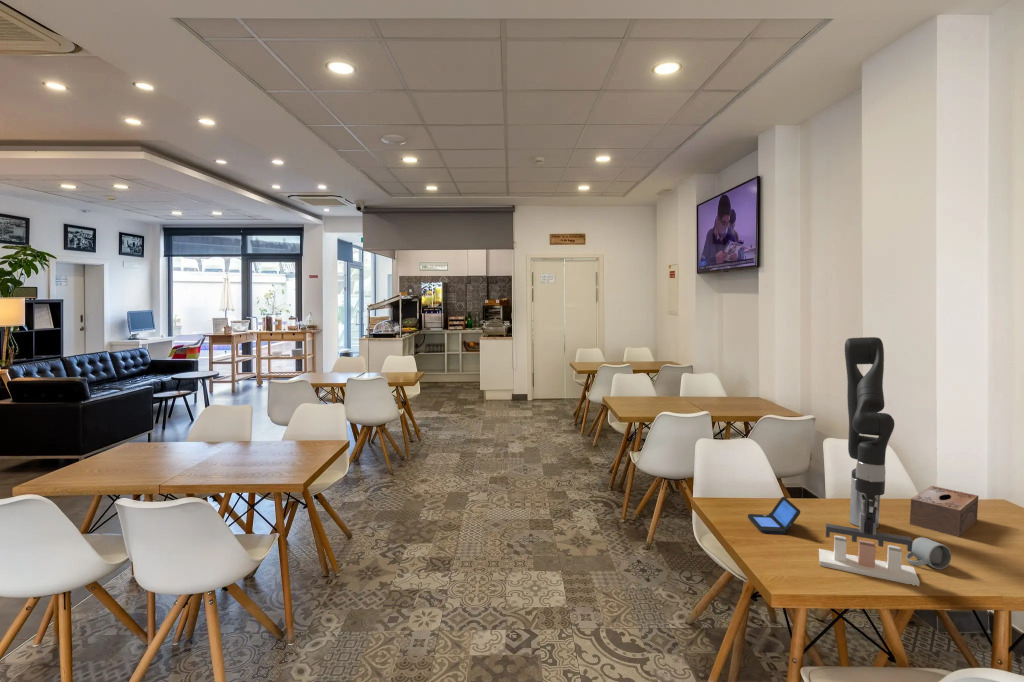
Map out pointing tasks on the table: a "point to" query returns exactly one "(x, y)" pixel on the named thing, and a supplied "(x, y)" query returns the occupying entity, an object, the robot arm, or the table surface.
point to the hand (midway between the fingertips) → (867, 531)
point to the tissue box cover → (944, 510)
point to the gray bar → (860, 533)
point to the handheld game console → (776, 518)
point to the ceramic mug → (929, 553)
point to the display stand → (868, 562)
